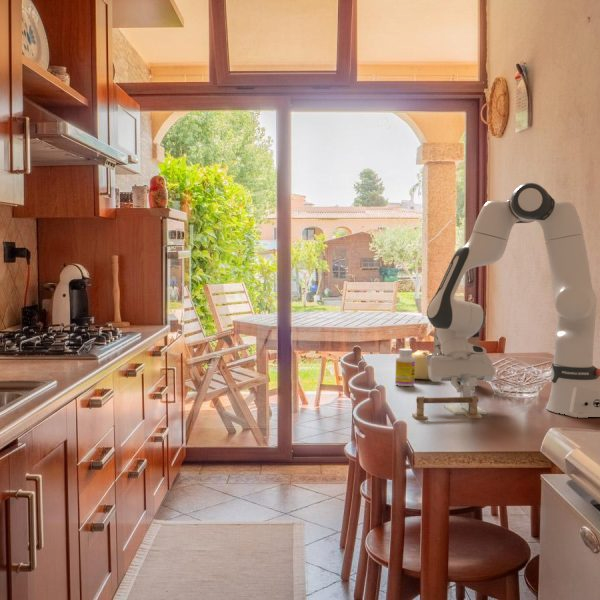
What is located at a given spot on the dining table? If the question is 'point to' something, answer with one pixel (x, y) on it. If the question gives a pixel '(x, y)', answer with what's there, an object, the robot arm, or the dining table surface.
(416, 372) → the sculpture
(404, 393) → the dining table surface
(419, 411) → the rail stand
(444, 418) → the dining table surface
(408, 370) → the supplement bottle
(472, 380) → the c link
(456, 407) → the tile
